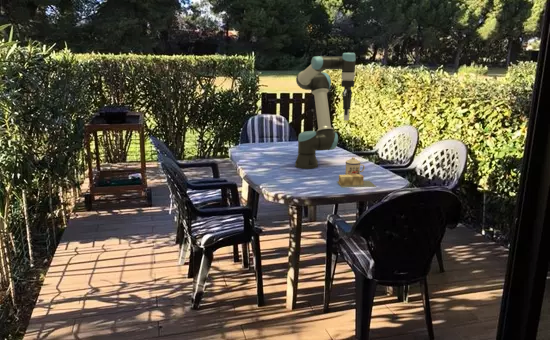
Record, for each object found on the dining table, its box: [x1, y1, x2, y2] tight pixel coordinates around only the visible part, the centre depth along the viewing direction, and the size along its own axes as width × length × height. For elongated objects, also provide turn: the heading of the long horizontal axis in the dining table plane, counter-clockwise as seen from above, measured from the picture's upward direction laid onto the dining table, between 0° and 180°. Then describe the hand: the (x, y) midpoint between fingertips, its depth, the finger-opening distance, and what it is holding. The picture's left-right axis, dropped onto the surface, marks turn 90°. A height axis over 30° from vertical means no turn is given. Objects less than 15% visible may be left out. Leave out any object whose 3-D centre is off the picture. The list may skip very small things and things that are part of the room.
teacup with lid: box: [344, 156, 366, 175], centre depth 270 cm, size 12×9×12 cm
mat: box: [336, 180, 377, 189], centre depth 251 cm, size 20×13×1 cm, turn 96°
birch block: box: [338, 173, 365, 187], centre depth 250 cm, size 5×5×13 cm
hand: (346, 120), depth 263 cm, fingers closed
